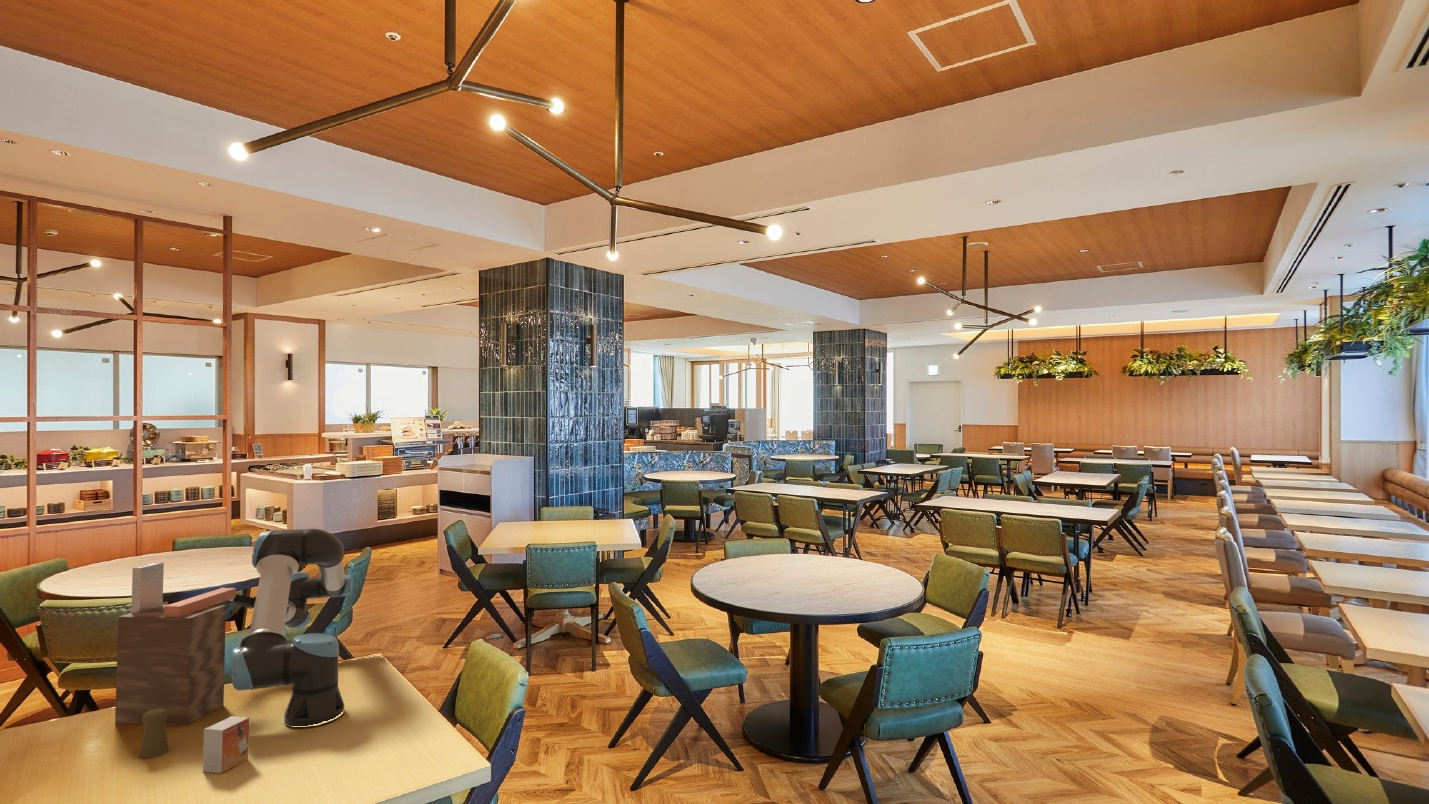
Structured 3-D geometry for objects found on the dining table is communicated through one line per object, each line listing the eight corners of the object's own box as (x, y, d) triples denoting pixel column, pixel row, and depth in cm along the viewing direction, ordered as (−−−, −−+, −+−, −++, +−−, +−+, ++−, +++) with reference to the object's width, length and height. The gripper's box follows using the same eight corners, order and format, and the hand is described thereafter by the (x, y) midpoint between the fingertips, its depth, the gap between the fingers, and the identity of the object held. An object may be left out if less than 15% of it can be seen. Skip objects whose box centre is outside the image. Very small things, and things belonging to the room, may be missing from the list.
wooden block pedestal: (156, 703, 213) (159, 604, 214) (223, 705, 212) (226, 605, 213) (115, 723, 199) (118, 616, 200) (186, 725, 198) (189, 618, 199)
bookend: (154, 605, 212) (155, 562, 212) (162, 606, 212) (163, 562, 212) (131, 613, 204) (132, 567, 204) (139, 613, 204) (140, 568, 204)
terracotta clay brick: (221, 597, 222) (222, 587, 222) (235, 597, 222) (235, 588, 222) (164, 616, 200) (164, 606, 200) (179, 617, 200) (179, 606, 200)
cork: (174, 750, 183) (175, 707, 184) (149, 760, 178) (150, 716, 178) (158, 746, 185) (159, 704, 186) (133, 756, 180) (134, 713, 180)
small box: (221, 774, 171) (222, 730, 171) (201, 772, 172) (202, 728, 172) (249, 759, 179) (250, 717, 179) (230, 757, 180) (231, 715, 180)
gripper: (309, 621, 243) (274, 604, 225) (239, 619, 244) (199, 602, 226) (316, 599, 247) (282, 581, 229) (247, 597, 248) (208, 579, 230)
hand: (240, 591), depth 227 cm, fingers open, 13 cm apart
